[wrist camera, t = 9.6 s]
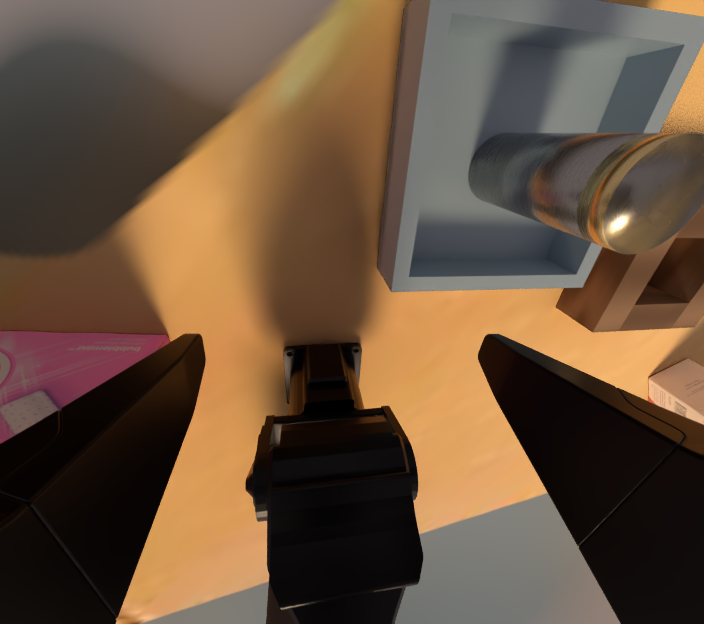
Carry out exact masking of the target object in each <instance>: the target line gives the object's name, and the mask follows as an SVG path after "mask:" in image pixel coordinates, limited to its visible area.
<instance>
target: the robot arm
mask: <svg viewBox="0 0 704 624" xmlns="http://www.w3.org/2000/svg"><path fill="white" fill-rule="evenodd" d="M355 348H358V349H357V350H354V349H355ZM287 352H292V353H291V354H289V353H287ZM361 354H362V348H361V345H360V344H358V343H346V344H322V345H306V346H289V347H286V348H285V349H284V353H283V356H284V368H285V381H286V393H287V403H288V404H289V415H288V416H276V417H275V415H271V416H266V421H265V425H264V426H262V430H261V434H260V435H259V437H258V445H257V451H256V456H255V460H254V462H253V465H252V467H251V469H250V471H249V474H248V476H247V478H246V491H247V492H248V493H249V494H250V495H251V496H252V497H253V503H254V506H255V511H256V518H257V521H258V522H260V521H267V567H268V572H269V574H270V575H269V581H270V586H271V588H272V591H273V593H274V595H275V598H276V600H277V603H278V605H279V607H280V609H281V610H283V609H288V611H289V613H290V615H291V617H292V619H293V621H294V623H295V624H395V620H396V616H397V613H398V610H399V607H400V603H401V600H402V597H403V594H404V591H405V587H407V586H412V585H417V584H418V582H419V579H420V574H421V568H422V563H423V552H422V546H421V542H420V537H419V532H418V527H417V522H416V517H415V511H414V503H413V500H415V499H416V497H417V493H418V474H417V466H416V461H415V457H414V453H413V450H412V447H411V444H410V442H409V440H408V438H407V436H406V434H405V433H404V431H403V429H402V427H401V426H400V424H399V422H398V421H397V419H396V417H395V415H394V414H393V412H392V410H391V409H390V407H389V406H381V408H372V409H364V406H363V402H362V397H361V393H360V389H359V377H360V365H361ZM205 360H206V359H205V351H204V346H203V340H202V336H201V335H200V334H183V335H182V336H180V337H178V338H177V339H175V340H173V341H172V342H170V343H168V344H167V345H165V346H163V347H162V348H160V349H158V350H157V351H155V352H153V353H152V354H150V355H148V356H147V357H145V358H143V359H142V360H140V361H138V362H137V363H135V364H133V365H132V366H130V367H128V368H127V369H125V370H123V371H122V372H120V373H118V374H117V375H115V376H113V377H112V378H110V379H108V380H107V381H105V382H103V383H102V384H100V385H98V386H97V387H95V388H93V389H92V390H90V391H88V392H87V393H85V394H83V395H82V396H80V397H79V398H77V399H75V400H74V401H72V402H70V403H69V404H67V405H65V406H64V407H62V408H61V411H60V410H57V411H55V412H53V413H52V414H50V415H48V416H47V417H45V418H43V419H42V420H40V421H38V422H37V423H35V424H33V425H32V426H30V427H28V428H26V429H25V430H23V431H21V432H20V433H18V434H16V435H14V436H13V437H11V438H9V439H7V440H6V441H4V442H2V443H0V624H116V618H117V617H118V615H119V613H120V610H121V607H122V605H123V602H124V599H125V596H126V594H127V591H128V588H129V586H130V583H131V580H132V578H133V575H134V572H135V570H136V567H137V564H138V562H139V559H140V556H141V553H142V551H143V548H144V545H145V543H146V540H147V537H148V535H149V532H150V529H151V527H152V524H153V521H154V519H155V516H156V513H157V510H158V508H159V505H160V502H161V500H162V497H163V494H164V492H165V489H166V486H167V484H168V481H169V478H170V475H171V473H172V470H173V467H174V465H175V462H176V459H177V457H178V454H179V451H180V449H181V446H182V443H183V441H184V438H185V435H186V432H187V430H188V427H189V424H190V422H191V419H192V416H193V413H194V410H195V406H196V402H197V397H198V393H199V389H200V385H201V380H202V376H203V372H204V367H205ZM478 360H479V363H480V365H481V367H482V369H483V372H484V374H485V376H486V379H487V381H488V383H489V386H490V388H491V390H492V392H493V395H494V397H495V399H496V401H497V403H498V405H499V406H500V408H501V410H502V412H503V413H504V415H505V417H506V419H507V421H508V422H509V424H510V426H511V428H512V430H513V431H514V433H515V435H516V437H517V439H518V440H519V442H520V444H521V446H522V447H523V449H524V451H525V453H526V455H527V456H528V458H529V460H530V462H531V464H532V465H533V467H534V469H535V471H536V472H537V474H538V476H539V478H540V480H541V481H542V483H543V485H544V487H545V489H546V490H547V492H548V494H549V496H550V497H551V499H552V501H553V503H554V505H555V506H556V508H557V510H558V512H559V514H560V515H561V517H562V519H563V521H564V522H565V524H566V526H567V528H568V530H569V531H570V533H571V535H572V537H573V538H574V540H575V542H576V544H577V545H578V546H579V550H580V551H581V553H582V555H583V557H584V559H585V560H586V562H587V564H588V566H589V568H590V569H591V571H592V573H593V575H594V577H595V578H596V580H597V582H598V584H599V586H600V587H601V589H602V591H603V593H604V594H605V596H606V598H607V600H608V602H609V603H610V605H611V607H612V609H613V611H614V612H615V614H616V616H617V618H618V620H619V621H620V623H621V624H704V425H703V424H701V423H698V422H696V421H694V420H691V419H689V418H686V417H684V416H681V415H679V414H677V413H674V412H672V411H670V410H667V409H665V408H663V407H660V406H658V405H655V404H653V403H651V402H649V401H646V400H644V399H642V398H640V397H637V396H635V395H633V394H631V393H628V392H626V391H624V390H622V389H619V388H616V387H615V386H613V385H611V384H608V383H606V382H604V381H602V380H600V379H597V378H595V377H593V376H591V375H588V374H586V373H584V372H582V371H580V370H577V369H575V368H573V367H571V366H569V365H566V364H564V363H562V362H560V361H558V360H555V359H553V358H551V357H549V356H547V355H544V354H542V353H540V352H538V351H535V350H533V349H531V348H529V347H527V346H524V345H522V344H520V343H518V342H516V341H513V340H511V339H509V338H507V337H505V336H502V335H500V334H488V335H486V336H485V338H484V340H483V342H482V345H481V348H480V350H479V353H478Z"/></svg>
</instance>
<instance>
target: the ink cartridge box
mask: <svg viewBox="0 0 704 624" xmlns="http://www.w3.org/2000/svg"><path fill="white" fill-rule="evenodd" d="M648 381H649V402H651V403H653V404H655V405H658V406H660V407H663V408H665V409H667V410H670V411H672V412H674V413H677V414H679V415H681V416H684V417H686V418H689V419H691V420H694V421H696V422H698V423H701V424H703V425H704V367H703V366H701V365H699V364H697V363H696V362H694V361H692V360H690V359H689V358H687V359H686V360H684V361H682V362H679V363H677V364H675V365H673V366H671V367H669V368H667V369H665V370H663V371H661V372H659V373H657V374H655V375H653V376H651V377H649V378H648Z"/></svg>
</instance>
